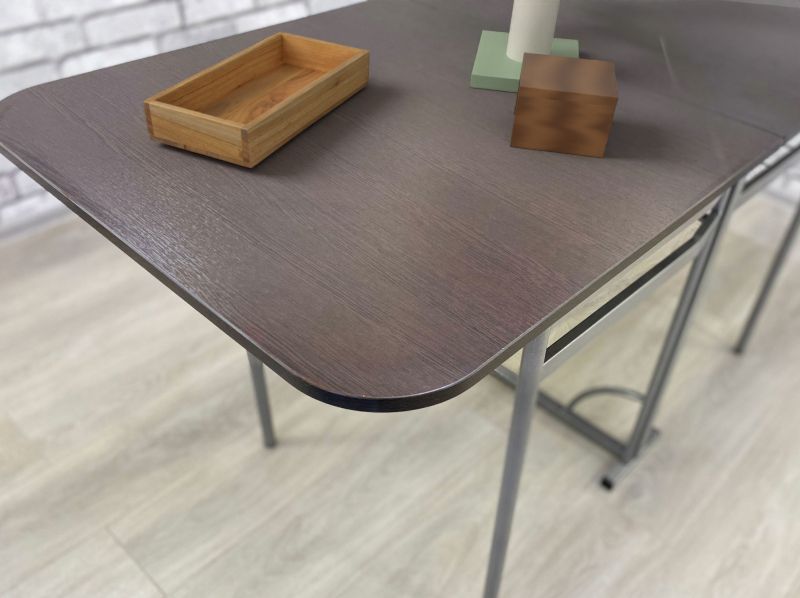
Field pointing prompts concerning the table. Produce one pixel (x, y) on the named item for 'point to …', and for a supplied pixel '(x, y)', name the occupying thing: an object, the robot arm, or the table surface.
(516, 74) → the sage green flat slab
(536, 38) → the cylinder
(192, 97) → the tray
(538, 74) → the wood grain cuboid
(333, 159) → the table surface
